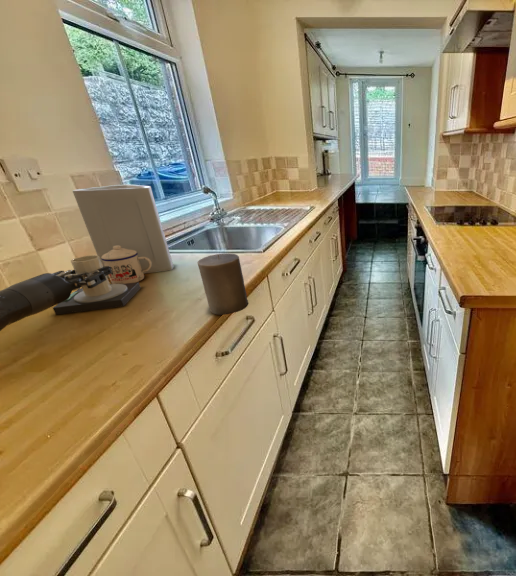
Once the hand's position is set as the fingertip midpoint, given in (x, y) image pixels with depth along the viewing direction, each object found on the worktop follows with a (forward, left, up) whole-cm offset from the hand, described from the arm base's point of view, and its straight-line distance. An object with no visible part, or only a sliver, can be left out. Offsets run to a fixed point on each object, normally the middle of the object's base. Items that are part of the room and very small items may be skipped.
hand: (98, 269), depth 89 cm
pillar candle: (+34, -18, -9) cm, 40 cm away
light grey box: (+1, +26, -9) cm, 27 cm away
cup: (-1, -2, -6) cm, 6 cm away
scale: (-1, -2, -9) cm, 9 cm away
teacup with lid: (+2, +13, -9) cm, 16 cm away
